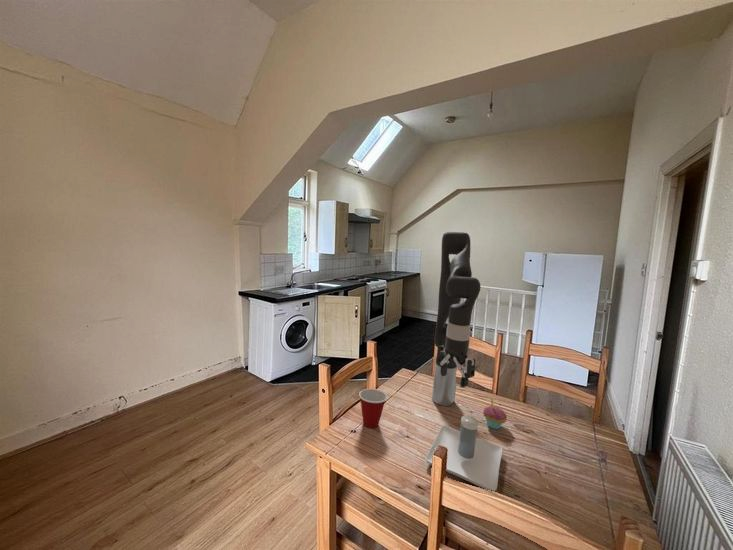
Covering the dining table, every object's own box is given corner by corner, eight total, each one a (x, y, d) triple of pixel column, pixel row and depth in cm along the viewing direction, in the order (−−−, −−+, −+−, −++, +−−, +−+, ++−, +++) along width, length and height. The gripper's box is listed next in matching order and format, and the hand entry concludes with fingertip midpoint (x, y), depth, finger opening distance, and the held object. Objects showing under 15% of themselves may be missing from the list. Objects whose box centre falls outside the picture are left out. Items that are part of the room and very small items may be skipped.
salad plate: (495, 501, 83) (496, 490, 82) (423, 468, 93) (424, 458, 93) (502, 455, 101) (503, 446, 101) (441, 432, 111) (442, 423, 111)
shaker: (465, 445, 100) (468, 413, 98) (477, 455, 96) (481, 422, 94) (454, 450, 97) (458, 417, 96) (466, 460, 93) (470, 427, 91)
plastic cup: (387, 418, 117) (389, 390, 115) (381, 435, 106) (384, 404, 105) (361, 412, 119) (363, 384, 118) (353, 428, 109) (355, 398, 108)
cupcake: (481, 428, 115) (485, 399, 113) (482, 416, 123) (485, 389, 121) (506, 434, 112) (510, 405, 110) (504, 422, 119) (508, 394, 118)
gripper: (483, 341, 94) (477, 388, 97) (449, 327, 106) (444, 369, 108) (468, 345, 90) (462, 394, 93) (434, 330, 102) (430, 374, 104)
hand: (453, 380), depth 101 cm, fingers open, 8 cm apart
